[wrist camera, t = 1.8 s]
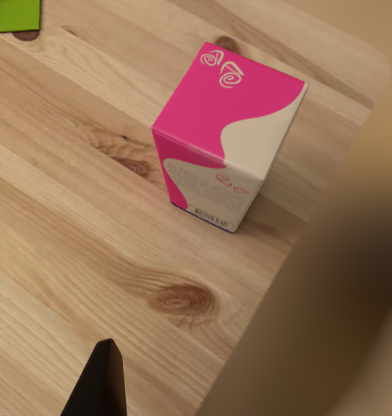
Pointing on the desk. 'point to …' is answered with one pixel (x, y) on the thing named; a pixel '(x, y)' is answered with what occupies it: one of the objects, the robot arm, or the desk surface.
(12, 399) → the desk surface
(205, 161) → the supplement box
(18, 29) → the cloth
